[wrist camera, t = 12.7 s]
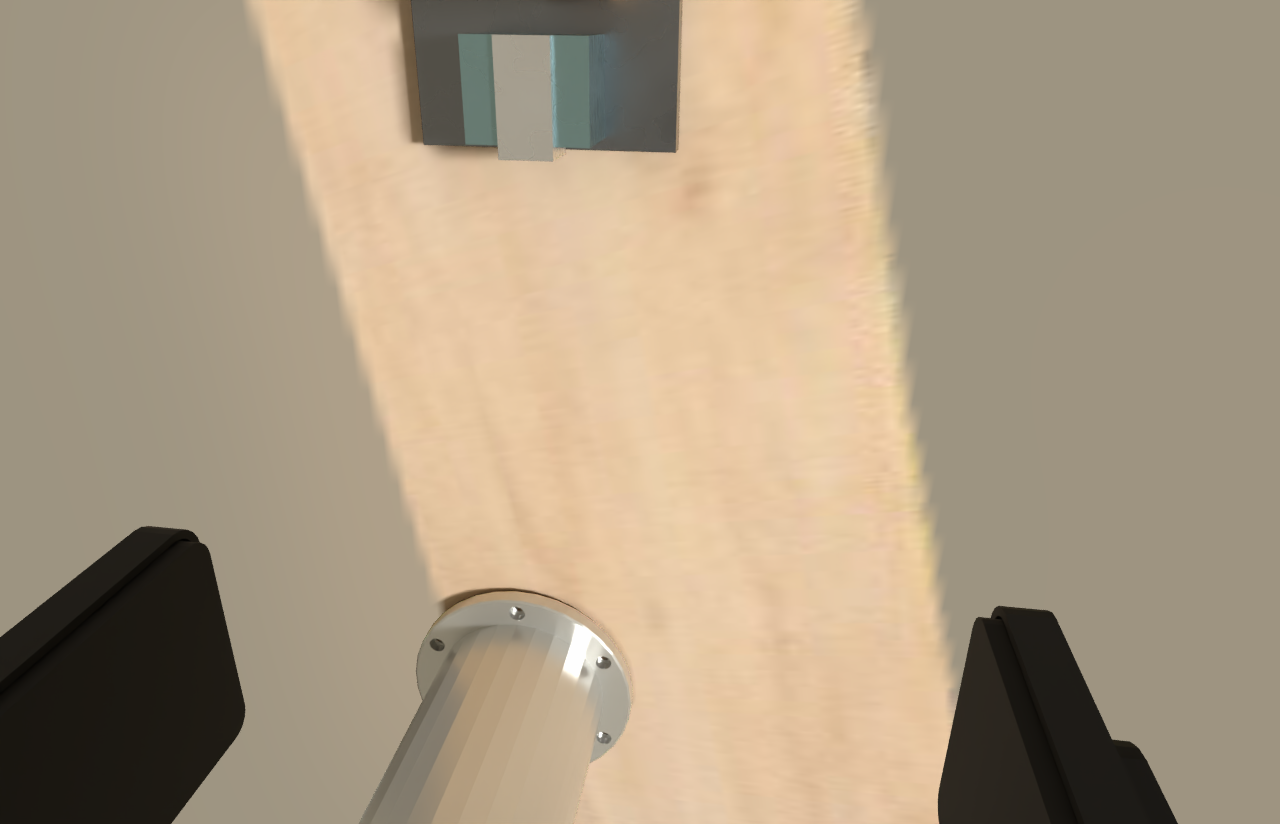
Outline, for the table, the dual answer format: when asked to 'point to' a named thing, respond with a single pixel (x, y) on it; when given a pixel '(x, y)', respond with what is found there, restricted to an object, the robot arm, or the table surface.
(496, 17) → the workpiece vise
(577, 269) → the table surface
